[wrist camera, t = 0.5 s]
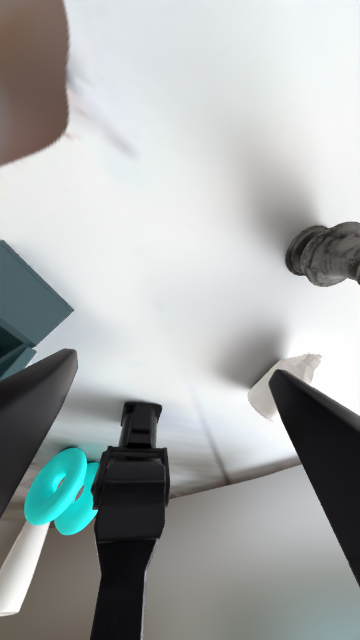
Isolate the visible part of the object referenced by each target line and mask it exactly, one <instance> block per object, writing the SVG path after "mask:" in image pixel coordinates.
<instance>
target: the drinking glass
mask: <svg viewBox="0 0 360 640" xmlns="http://www.w3.org/2000/svg"><path fill="white" fill-rule="evenodd" d="M49 524H50V522H48V523H46V524H44V525H38V526H35V525H32V524H30V523H29V522H28V521H27V520H26V522H25V524H24V526H23V528H22V530H21V532H20V534H19V535H18V537H17V539H16V541H15V543H14V545H13V547H12V549H11V550H10V552H9V554H8V556H7V558H6V560H5V562H4V564H3V565H2V567H1V569H0V616H6V615H12V614H16V613H18V612H19V610H20V607H21V605H22V602H23V600H24V598H25V595H26V593H27V590H28V587H29V585H30V582H31V579H32V576H33V573H34V571H35V567H36V564H37V561H38V558H39V555H40V552H41V549H42V546H43V543H44V540H45V537H46V534H47V531H48V527H49Z"/></svg>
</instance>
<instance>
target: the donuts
mask: <svg viewBox="0 0 360 640" xmlns="http://www.w3.org/2000/svg"><path fill="white" fill-rule="evenodd" d="M98 467H99V463H97V462H91V463H88V464H87V459H86V455H85V453H84V452H83V451H82V450H81V449H79V448H68V449H66V450H63V451H62V452H60V453H58V454H57V455H56V456H54V457H53V458H52V459H51V460H50V461H49V462H48V463H47V464H46V465H45V466H44V467H43V468H42V470H41V471H40V472H39V474H38V475H37V477H36V478H35V480H34V481H33V483H32V485H31V487H30V489H29V492H28V494H27V497H26V501H25V506H24V513H25V518H26V520H27V521H28V522H29V523H30V524H32V525H35V526H38V525H44V524H46V523H48V522H50V521H52V520H54V521H55V526H56V528H57V530H58V531H59V532H60V533H61V534H63V535H72V534H75V533H77V532H79V531H80V530H82V529H83V528H84V527H85V526H86V525H87V524H88V523H89V522H90V521H91V520H92V519H93V517H94V516H95V515H96V513H97V511H98V510H92V507H93V502H92V501H93V496H92V494H91V492H90V491H91V487H92V484H93V481H94V478H95V475H96V472H97V470H98ZM65 476H66V477H65ZM63 477H65V479H64V481H63V483H62V484H61V486H60V487H59V488H58V489H57V486H58V484H59V482H60V481H61V480H62V479H63ZM84 484H85V486H84V490H83V493H82V495H81V496H80V497H79V499H78V500H77V501H76V502H74V501H75V497H76V495H77V493H78V491H79V490H80V488H81V487H82V486H83V485H84ZM56 489H57V490H56Z"/></svg>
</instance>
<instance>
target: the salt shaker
mask: <svg viewBox="0 0 360 640" xmlns="http://www.w3.org/2000/svg"><path fill="white" fill-rule="evenodd" d="M286 263H287V267H288V269H289V270H290V272H292V273H293V274H295V275H298V276H306V277H307V278H308V279H309V281H310V282H311V283H313V284H314V285H317V286H320V287H328V286H332V285H335V284H338V283H340V282H342V281H344V280H345V279H346V278H349V279H352V280H356V281H357V282H358V284H359V285H360V223H358V222H345V223H341V224H338V225H336V226H334V227H332V228H329V229H328V228H326V227H324V226H313V227H310V228H308V229H306V230H304V231H302V232H301V233H300V234H299V235H298V236H297V237H296V238H295V239H294V240H293V242H292V243H291V245H290V247H289V249H288V252H287V255H286Z"/></svg>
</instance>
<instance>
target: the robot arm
mask: <svg viewBox="0 0 360 640" xmlns="http://www.w3.org/2000/svg"><path fill="white" fill-rule="evenodd" d="M77 369H78V360H77V352H76V350H74V349H62V350H60V351H58V352H56V353H54V354H52V355H50V356H48V357H46V358H44V359H42V360H40V361H39V362H37V363H35V364H33V365H31V366H29V367H27V368H25V369H23V370H21V371H19V372H17V373H15V374H13V375H11V376H9V377H7V378H5V379H3V380H1V381H0V518H1V516H2V514H3V512H4V511H5V509H6V507H7V505H8V503H9V502H10V500H11V498H12V496H13V494H14V493H15V491H16V489H17V487H18V485H19V483H20V482H21V480H22V478H23V476H24V474H25V473H26V471H27V469H28V467H29V465H30V464H31V462H32V460H33V458H34V456H35V455H36V453H37V451H38V449H39V447H40V446H41V444H42V442H43V440H44V438H45V437H46V435H47V433H48V431H49V429H50V428H51V426H52V424H53V422H54V420H55V419H56V417H57V415H58V413H59V411H60V409H61V407H62V405H63V403H64V400H65V398H66V396H67V393H68V391H69V389H70V386H71V384H72V382H73V379H74V377H75V374H76V372H77ZM268 385H269V388H270V391H271V394H272V396H273V399H274V402H275V404H276V407H277V410H278V413H279V415H280V418H281V420H282V422H283V424H284V426H285V429H286V431H287V433H288V435H289V437H290V439H291V441H292V443H293V446H294V448H295V450H296V452H297V454H298V456H299V458H300V461H301V463H302V465H303V467H304V469H305V471H306V473H307V475H308V478H309V480H310V482H311V484H312V486H313V488H314V490H315V493H316V495H317V497H318V499H319V501H320V503H321V505H322V507H323V510H324V512H325V514H326V516H327V518H328V520H329V522H330V524H331V527H332V529H333V531H334V533H335V535H336V537H337V539H338V542H339V543H340V546H341V548H342V550H343V552H344V554H345V556H346V559H347V560H348V561H349V562H348V563H349V566H350V568H351V570H352V572H353V574H354V576H355V578H356V581H357V583H358V585H359V587H360V416H359V415H357V414H355V413H354V412H352V411H351V410H349V409H347V408H346V407H344V406H343V405H341V404H339V403H338V402H336V401H335V400H333V399H331V398H330V397H328V396H327V395H325V394H323V393H322V392H320V391H319V390H317V389H315V388H314V387H312V386H311V385H309V384H307V383H306V382H304V381H302V380H301V379H299V378H298V377H296V376H294V375H293V374H291V373H290V372H288V371H286V370H282V369H276V370H275V371H274V373H273V375H272V376H271V378H270V380H269V382H268ZM161 411H162V406H161V405H152V404H142V403H131V402H126V403H125V404H124V408H123V414H122V420H121V426H122V431H121V436H120V440H119V445H118V447H112V446H108V448H107V450H106V451H104V452H103V453H102V456H101V460H100V463H99V467H98V470H97V472H96V475H95V478H94V481H93V484H92V487H91V491H90V492H91V494H92V496H93V501H92V502H93V507H92V510H98V511H97V516H96V521H95V524H94V538H95V545H96V550H97V557H98V563H99V569H100V575H101V581H100V586H99V592H98V597H97V603H96V608H95V614H94V620H93V625H92V631H91V637H90V640H143V626H144V609H145V591H146V590H145V589H146V575H147V569H148V566H149V564H150V561H151V558H152V556H153V553H154V550H155V548H156V545H157V543H158V540H159V539H160V536H161V534H162V531H163V528H164V524H165V508H166V507H167V506H168V502H169V493H170V476H169V465H168V455H167V448H156V431H157V423H158V420H159V417H160V414H161Z"/></svg>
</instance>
